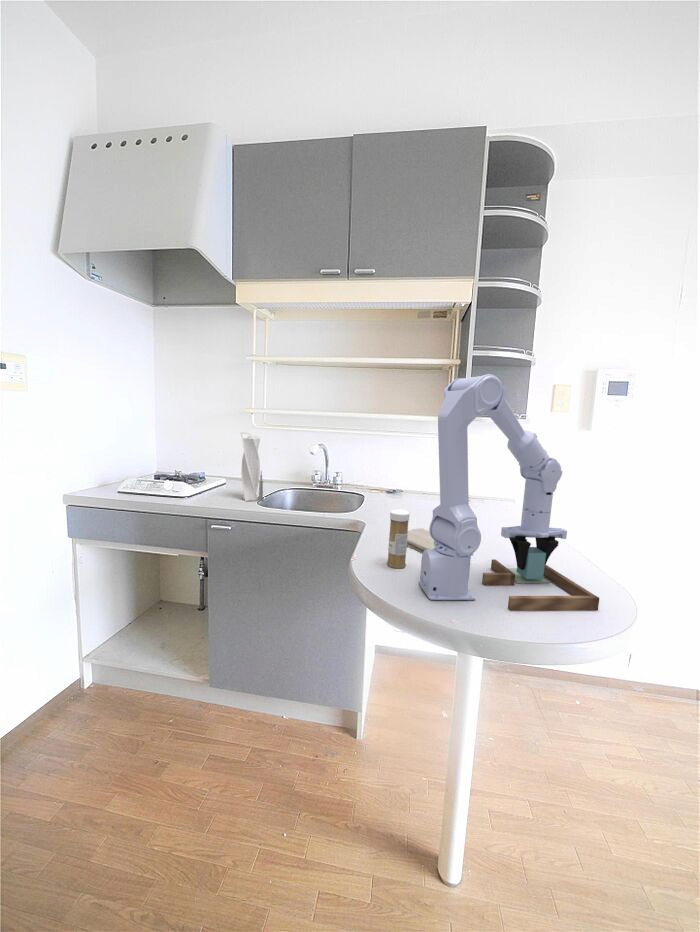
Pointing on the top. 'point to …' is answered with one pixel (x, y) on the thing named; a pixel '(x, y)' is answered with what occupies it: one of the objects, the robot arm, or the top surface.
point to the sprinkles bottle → (398, 538)
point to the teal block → (534, 564)
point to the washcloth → (420, 540)
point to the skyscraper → (251, 469)
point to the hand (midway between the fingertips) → (530, 568)
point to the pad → (521, 579)
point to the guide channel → (576, 601)
